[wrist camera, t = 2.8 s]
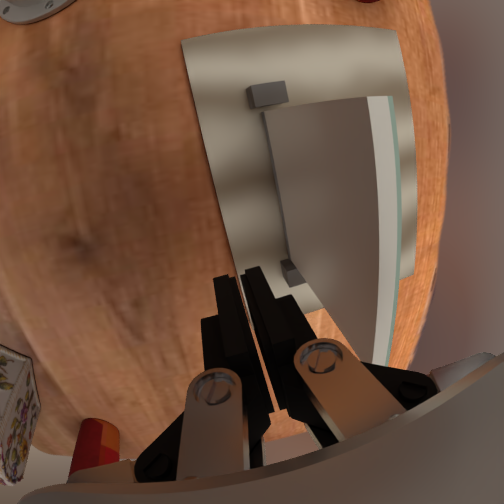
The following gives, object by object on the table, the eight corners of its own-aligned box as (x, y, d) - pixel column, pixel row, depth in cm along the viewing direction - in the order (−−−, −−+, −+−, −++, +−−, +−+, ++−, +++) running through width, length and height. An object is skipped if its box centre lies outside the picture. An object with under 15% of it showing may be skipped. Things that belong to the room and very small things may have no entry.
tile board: (181, 44, 17) (179, 32, 15) (388, 32, 19) (408, 26, 16) (250, 322, 29) (257, 343, 26) (407, 269, 31) (424, 282, 28)
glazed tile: (259, 112, 20) (363, 96, 7) (275, 109, 20) (394, 95, 7) (286, 255, 25) (368, 376, 12) (299, 252, 25) (389, 366, 13)
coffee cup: (72, 430, 32) (60, 509, 19) (78, 406, 30) (62, 500, 17) (121, 446, 35) (119, 526, 22) (133, 426, 33) (131, 518, 20)
